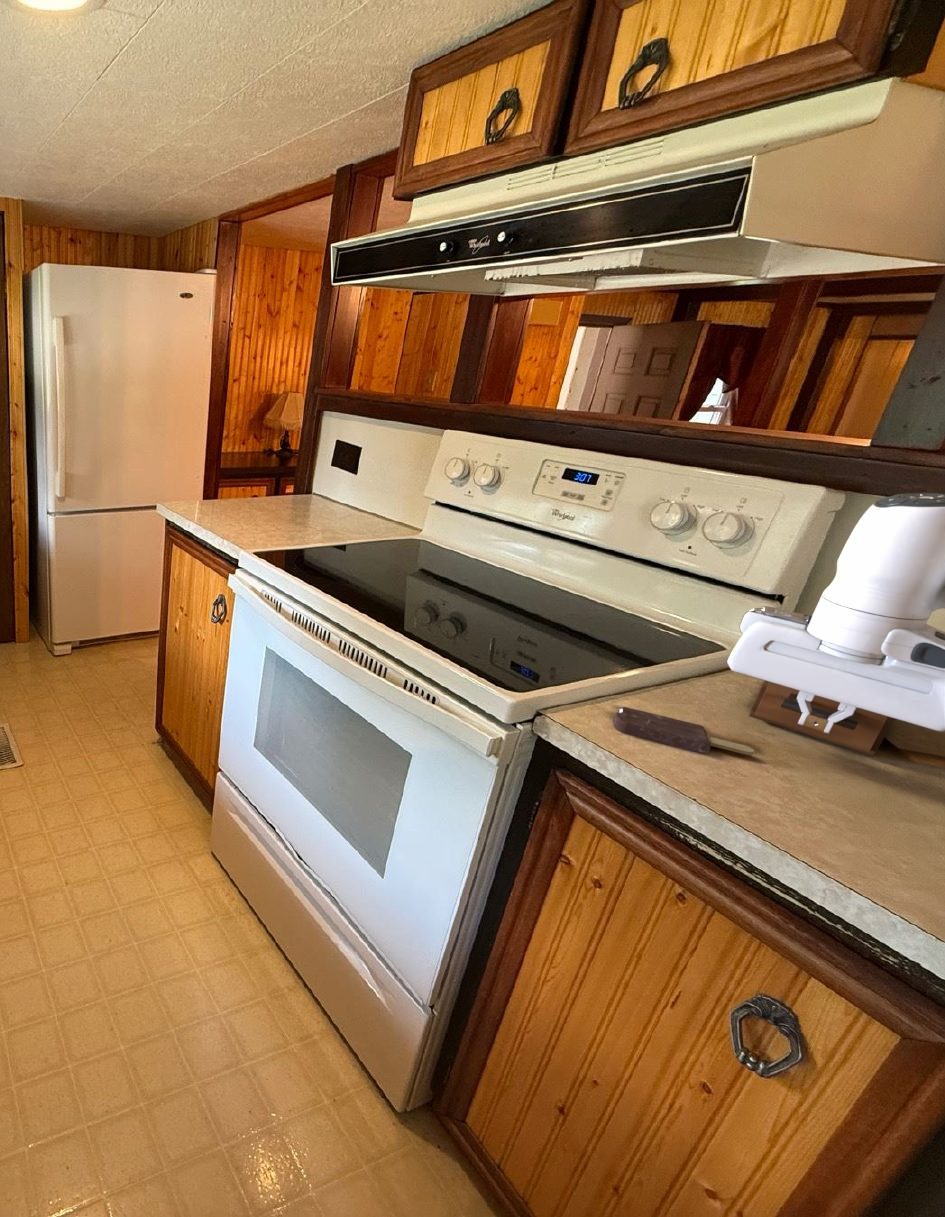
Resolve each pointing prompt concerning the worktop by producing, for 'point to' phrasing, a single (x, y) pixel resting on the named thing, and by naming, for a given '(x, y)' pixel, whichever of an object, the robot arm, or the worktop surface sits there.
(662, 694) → the worktop surface
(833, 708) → the drawer
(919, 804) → the worktop surface
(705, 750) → the ice cream bar
